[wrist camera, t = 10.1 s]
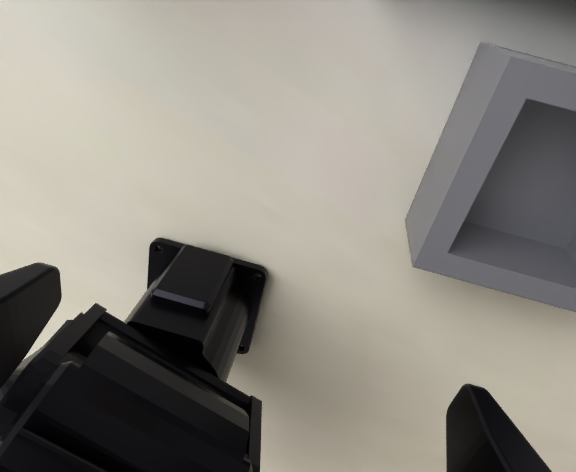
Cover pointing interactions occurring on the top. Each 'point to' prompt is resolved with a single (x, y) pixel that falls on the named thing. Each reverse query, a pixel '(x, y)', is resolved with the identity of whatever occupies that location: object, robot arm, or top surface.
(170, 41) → the top surface
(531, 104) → the socket
